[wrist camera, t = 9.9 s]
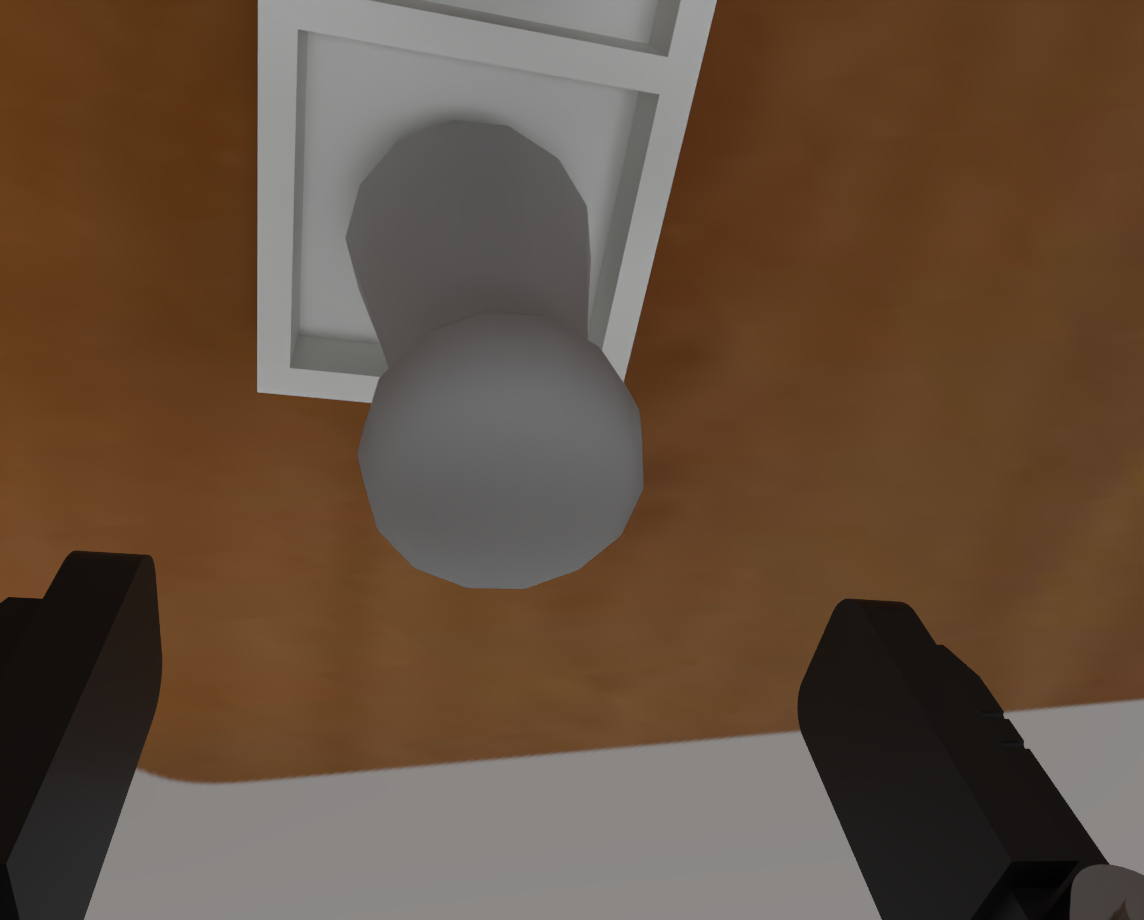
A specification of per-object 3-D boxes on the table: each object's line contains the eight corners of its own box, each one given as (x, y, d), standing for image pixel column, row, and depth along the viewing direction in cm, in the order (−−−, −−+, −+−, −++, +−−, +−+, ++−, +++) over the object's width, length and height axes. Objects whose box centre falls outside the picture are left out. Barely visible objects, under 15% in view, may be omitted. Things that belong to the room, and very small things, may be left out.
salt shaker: (408, 345, 25) (399, 698, 14) (313, 149, 22) (210, 413, 11) (603, 274, 25) (745, 581, 14) (536, 65, 21) (654, 252, 11)
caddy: (775, -422, 18) (831, -471, 16) (595, 376, 27) (612, 425, 25) (285, -580, 16) (259, -666, 13) (273, 342, 25) (257, 392, 23)
